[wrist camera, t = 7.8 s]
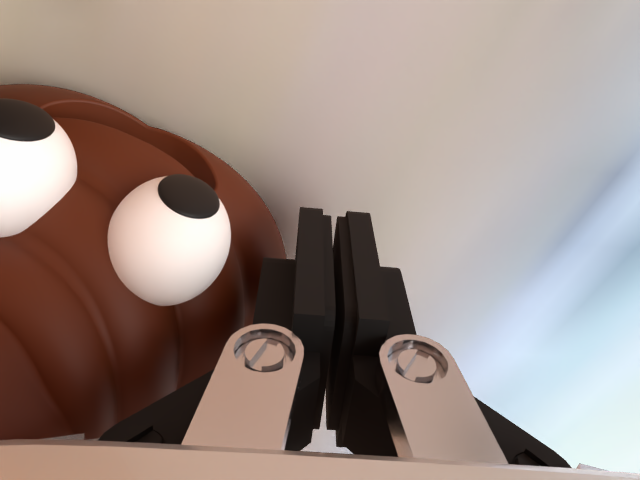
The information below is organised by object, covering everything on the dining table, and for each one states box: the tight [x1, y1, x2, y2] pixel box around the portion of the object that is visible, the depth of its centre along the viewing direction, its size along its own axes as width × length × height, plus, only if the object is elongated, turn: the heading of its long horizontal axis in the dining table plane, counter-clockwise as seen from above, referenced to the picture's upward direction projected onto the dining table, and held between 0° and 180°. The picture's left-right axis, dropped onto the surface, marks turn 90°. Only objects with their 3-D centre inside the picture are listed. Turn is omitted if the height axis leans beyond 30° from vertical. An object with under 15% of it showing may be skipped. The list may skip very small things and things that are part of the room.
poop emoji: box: [0, 84, 286, 440], centre depth 10 cm, size 10×8×9 cm
